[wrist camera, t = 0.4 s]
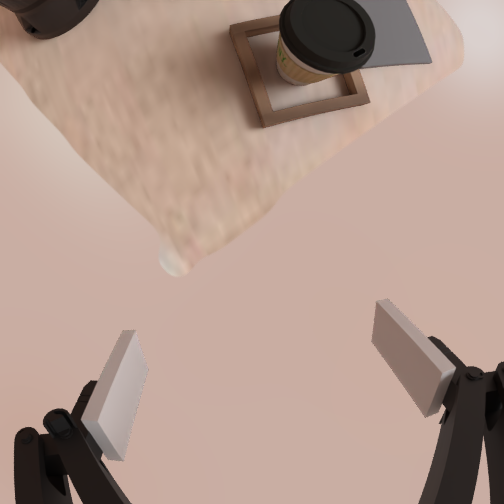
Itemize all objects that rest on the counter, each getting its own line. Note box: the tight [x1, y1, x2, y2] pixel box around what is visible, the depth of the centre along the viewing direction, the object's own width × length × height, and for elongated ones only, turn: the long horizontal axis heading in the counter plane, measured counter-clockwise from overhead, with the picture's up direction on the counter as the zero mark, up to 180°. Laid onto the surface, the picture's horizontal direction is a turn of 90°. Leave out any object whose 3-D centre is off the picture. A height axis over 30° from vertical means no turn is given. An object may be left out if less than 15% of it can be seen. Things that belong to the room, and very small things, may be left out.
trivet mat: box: [354, 0, 432, 69], centre depth 33 cm, size 14×14×1 cm
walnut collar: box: [230, 15, 370, 128], centre depth 34 cm, size 15×15×2 cm
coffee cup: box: [276, 0, 376, 86], centre depth 28 cm, size 10×10×15 cm
